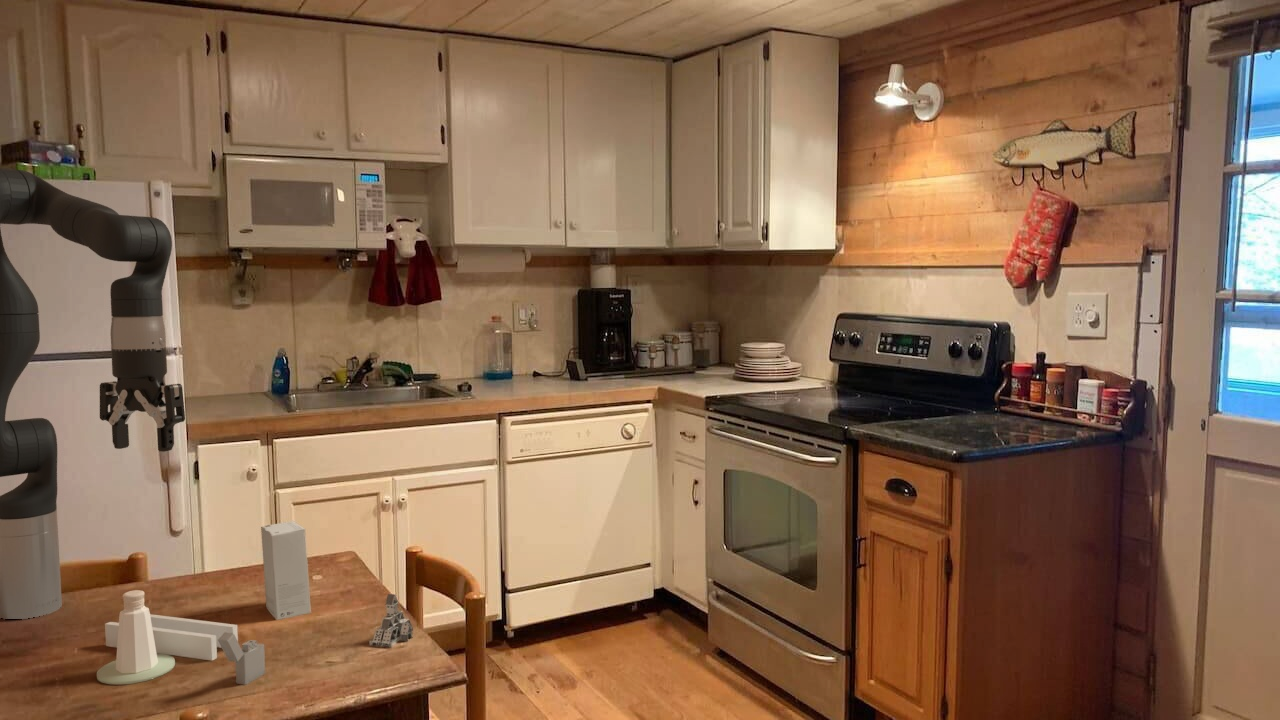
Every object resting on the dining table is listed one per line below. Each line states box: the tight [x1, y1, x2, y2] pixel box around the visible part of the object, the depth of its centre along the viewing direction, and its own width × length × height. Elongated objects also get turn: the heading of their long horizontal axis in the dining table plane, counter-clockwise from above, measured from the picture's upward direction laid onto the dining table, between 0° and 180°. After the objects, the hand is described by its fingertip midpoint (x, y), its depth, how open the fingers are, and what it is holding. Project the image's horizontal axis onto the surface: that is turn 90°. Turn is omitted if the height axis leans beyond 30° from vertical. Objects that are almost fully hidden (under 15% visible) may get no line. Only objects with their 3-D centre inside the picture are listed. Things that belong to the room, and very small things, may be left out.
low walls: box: [104, 613, 239, 661], centre depth 145 cm, size 20×6×4 cm, turn 73°
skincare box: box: [260, 520, 312, 621], centre depth 160 cm, size 8×6×15 cm
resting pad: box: [96, 653, 176, 686], centre depth 136 cm, size 10×10×1 cm
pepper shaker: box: [115, 589, 158, 674], centre depth 136 cm, size 5×5×11 cm
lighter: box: [218, 632, 266, 685], centre depth 132 cm, size 7×2×8 cm, turn 161°
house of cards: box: [369, 593, 414, 649], centre depth 146 cm, size 9×9×8 cm
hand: (143, 449), depth 147 cm, fingers open, 8 cm apart
